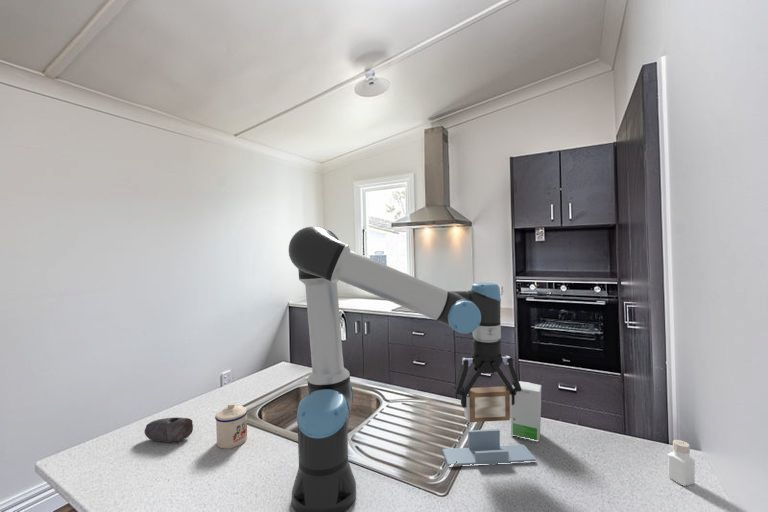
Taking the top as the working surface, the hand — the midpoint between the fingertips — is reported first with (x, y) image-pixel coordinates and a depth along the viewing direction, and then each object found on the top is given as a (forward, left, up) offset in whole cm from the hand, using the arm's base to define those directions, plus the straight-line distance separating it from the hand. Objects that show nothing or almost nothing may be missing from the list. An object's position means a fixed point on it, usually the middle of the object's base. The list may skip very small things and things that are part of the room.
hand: (487, 417), depth 98 cm
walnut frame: (0, 0, 0) cm, 0 cm away
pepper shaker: (+44, -13, -12) cm, 47 cm away
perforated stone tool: (-96, +18, -12) cm, 98 cm away
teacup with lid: (-75, +17, -12) cm, 78 cm away
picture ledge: (0, 0, -11) cm, 11 cm away
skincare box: (+16, +11, -12) cm, 22 cm away
